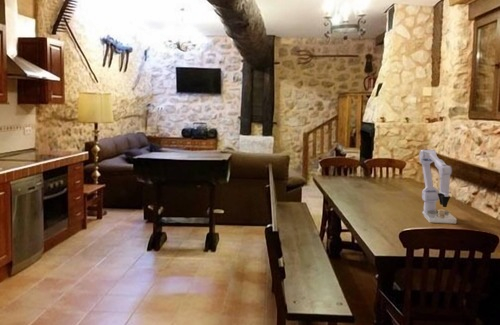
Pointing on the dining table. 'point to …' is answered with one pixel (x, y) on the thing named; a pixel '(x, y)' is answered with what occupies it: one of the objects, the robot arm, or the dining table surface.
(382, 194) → the dining table surface
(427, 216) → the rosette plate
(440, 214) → the peg
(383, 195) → the dining table surface
